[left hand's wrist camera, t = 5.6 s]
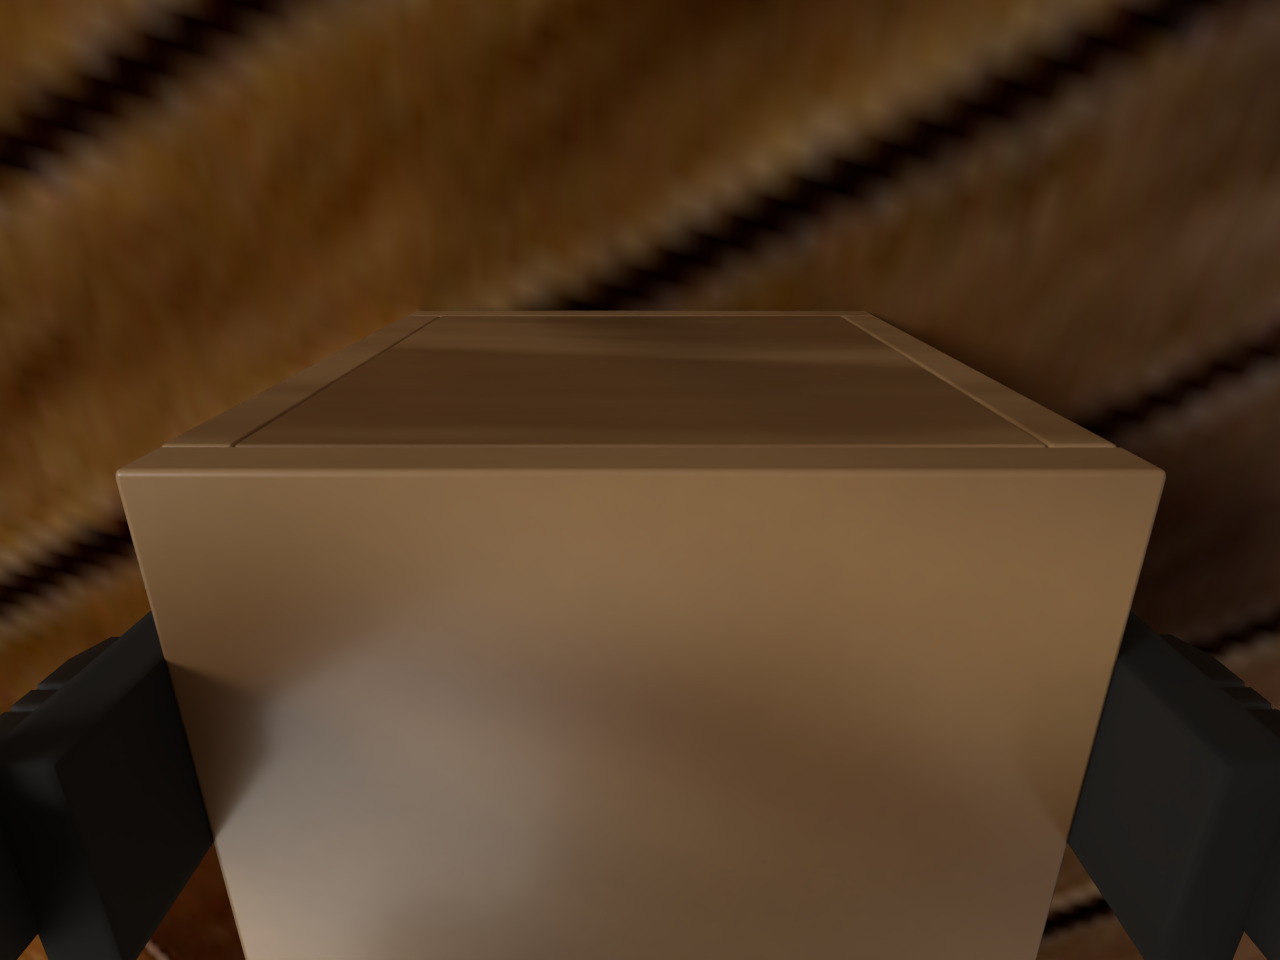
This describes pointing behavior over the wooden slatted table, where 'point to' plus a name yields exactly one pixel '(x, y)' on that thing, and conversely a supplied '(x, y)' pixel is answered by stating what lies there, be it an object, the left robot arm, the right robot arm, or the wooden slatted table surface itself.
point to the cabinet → (640, 640)
